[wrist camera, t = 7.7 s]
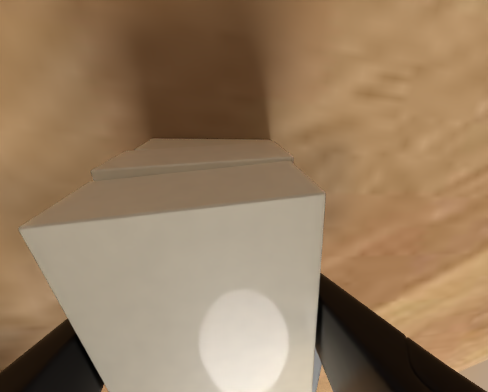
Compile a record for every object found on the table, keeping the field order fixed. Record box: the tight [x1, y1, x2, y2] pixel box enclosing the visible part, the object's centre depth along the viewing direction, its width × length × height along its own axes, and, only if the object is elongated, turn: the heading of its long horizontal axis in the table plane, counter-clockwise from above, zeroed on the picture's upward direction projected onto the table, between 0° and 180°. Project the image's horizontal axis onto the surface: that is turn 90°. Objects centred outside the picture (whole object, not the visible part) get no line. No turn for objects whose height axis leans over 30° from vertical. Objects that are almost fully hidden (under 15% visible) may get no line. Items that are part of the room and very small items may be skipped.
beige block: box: [91, 138, 294, 181], centre depth 11 cm, size 8×6×5 cm
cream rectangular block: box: [19, 161, 326, 392], centre depth 7 cm, size 8×6×3 cm
